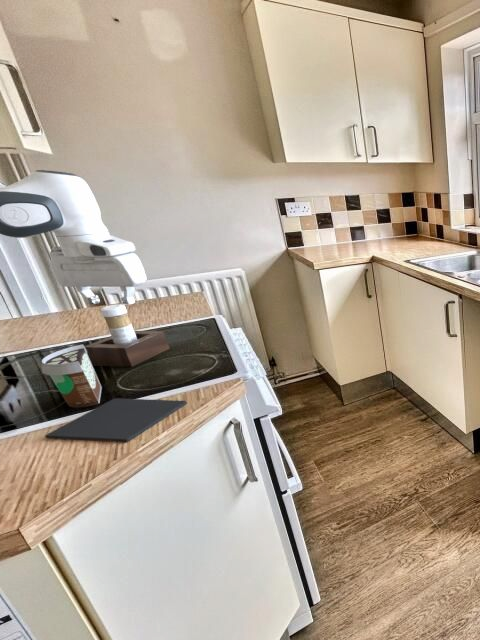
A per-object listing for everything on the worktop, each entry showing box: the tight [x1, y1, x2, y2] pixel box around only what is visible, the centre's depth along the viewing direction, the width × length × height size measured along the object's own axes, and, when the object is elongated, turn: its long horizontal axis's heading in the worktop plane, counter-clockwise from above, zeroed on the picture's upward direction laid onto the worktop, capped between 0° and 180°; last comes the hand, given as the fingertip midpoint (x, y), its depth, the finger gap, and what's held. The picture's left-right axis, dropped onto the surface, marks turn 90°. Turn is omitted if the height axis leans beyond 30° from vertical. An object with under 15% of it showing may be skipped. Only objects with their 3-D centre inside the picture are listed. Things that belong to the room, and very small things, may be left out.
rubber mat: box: [44, 398, 188, 443], centre depth 80 cm, size 16×13×1 cm
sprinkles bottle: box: [99, 303, 137, 345], centre depth 105 cm, size 5×5×14 cm
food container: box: [40, 343, 103, 408], centre depth 85 cm, size 12×6×10 cm, turn 40°
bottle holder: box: [84, 330, 171, 368], centre depth 106 cm, size 11×11×5 cm
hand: (112, 303), depth 102 cm, fingers open, 8 cm apart
